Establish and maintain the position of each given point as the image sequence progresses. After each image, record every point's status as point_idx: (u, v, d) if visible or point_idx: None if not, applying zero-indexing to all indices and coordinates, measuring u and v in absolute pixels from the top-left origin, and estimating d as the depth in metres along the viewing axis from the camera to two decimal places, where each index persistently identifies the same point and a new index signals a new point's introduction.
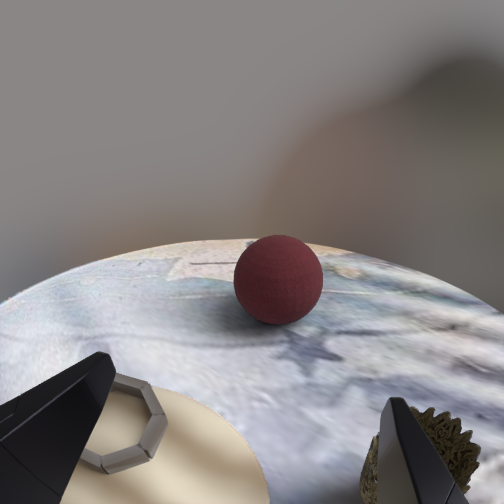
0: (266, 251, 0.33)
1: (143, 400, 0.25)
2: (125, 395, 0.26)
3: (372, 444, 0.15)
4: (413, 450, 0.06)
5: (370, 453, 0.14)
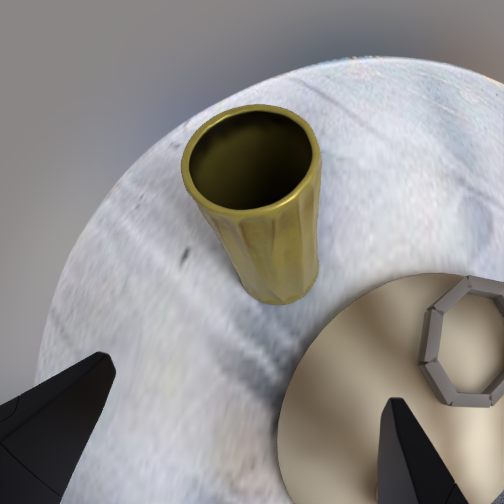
0: None
1: None
2: (498, 311, 0.19)
3: None
4: (413, 450, 0.06)
5: None
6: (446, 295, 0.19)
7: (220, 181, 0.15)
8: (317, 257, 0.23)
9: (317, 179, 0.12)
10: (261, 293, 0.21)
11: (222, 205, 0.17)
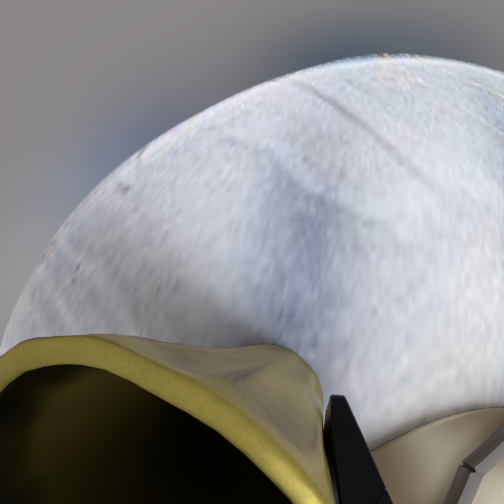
0: None
1: None
2: None
3: None
4: (344, 450, 0.06)
5: None
6: (493, 451, 0.10)
7: (110, 408, 0.06)
8: (321, 404, 0.13)
9: None
10: None
11: (134, 419, 0.07)
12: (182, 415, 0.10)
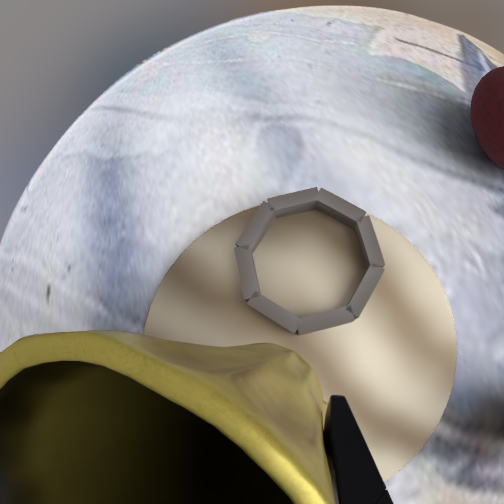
0: None
1: (352, 231, 0.22)
2: (329, 218, 0.23)
3: None
4: (344, 450, 0.06)
5: None
6: (246, 228, 0.22)
7: (109, 406, 0.06)
8: (321, 403, 0.13)
9: None
10: None
11: (133, 418, 0.07)
12: (182, 414, 0.10)
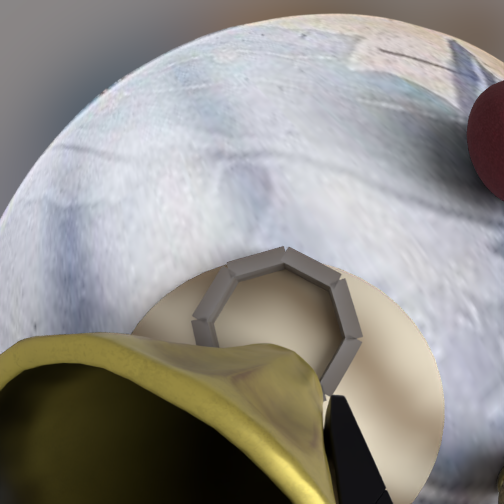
0: None
1: (326, 293, 0.20)
2: (300, 280, 0.20)
3: None
4: (344, 450, 0.06)
5: None
6: (203, 298, 0.19)
7: (110, 407, 0.06)
8: None
9: None
10: None
11: (133, 419, 0.07)
12: (182, 414, 0.10)
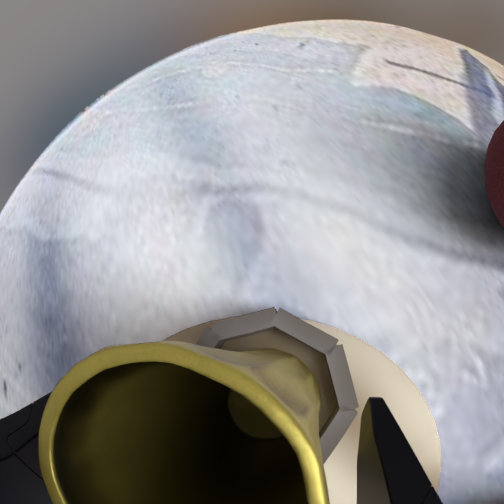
0: None
1: (321, 356, 0.17)
2: (293, 341, 0.18)
3: None
4: (389, 451, 0.06)
5: None
6: None
7: (146, 400, 0.08)
8: (319, 402, 0.15)
9: None
10: None
11: (161, 411, 0.09)
12: (197, 410, 0.12)
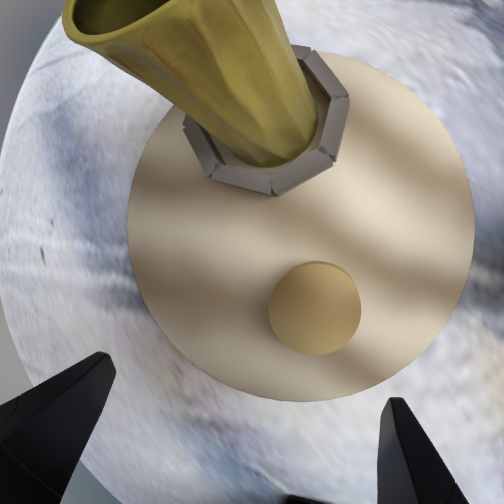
0: None
1: (305, 72, 0.18)
2: None
3: None
4: (413, 450, 0.06)
5: None
6: None
7: None
8: (311, 97, 0.16)
9: None
10: (252, 154, 0.16)
11: None
12: None
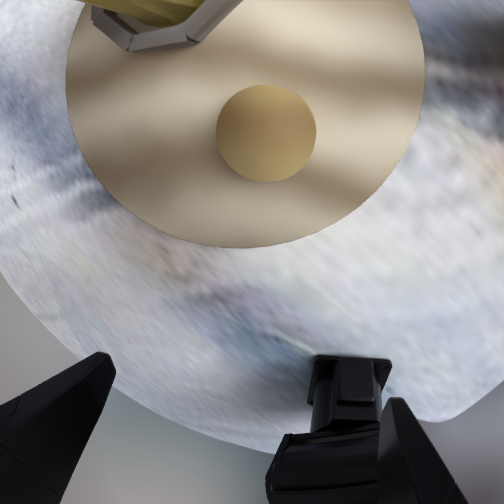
0: None
1: None
2: None
3: None
4: (413, 450, 0.06)
5: None
6: None
7: None
8: None
9: None
10: (155, 12, 0.12)
11: None
12: None
